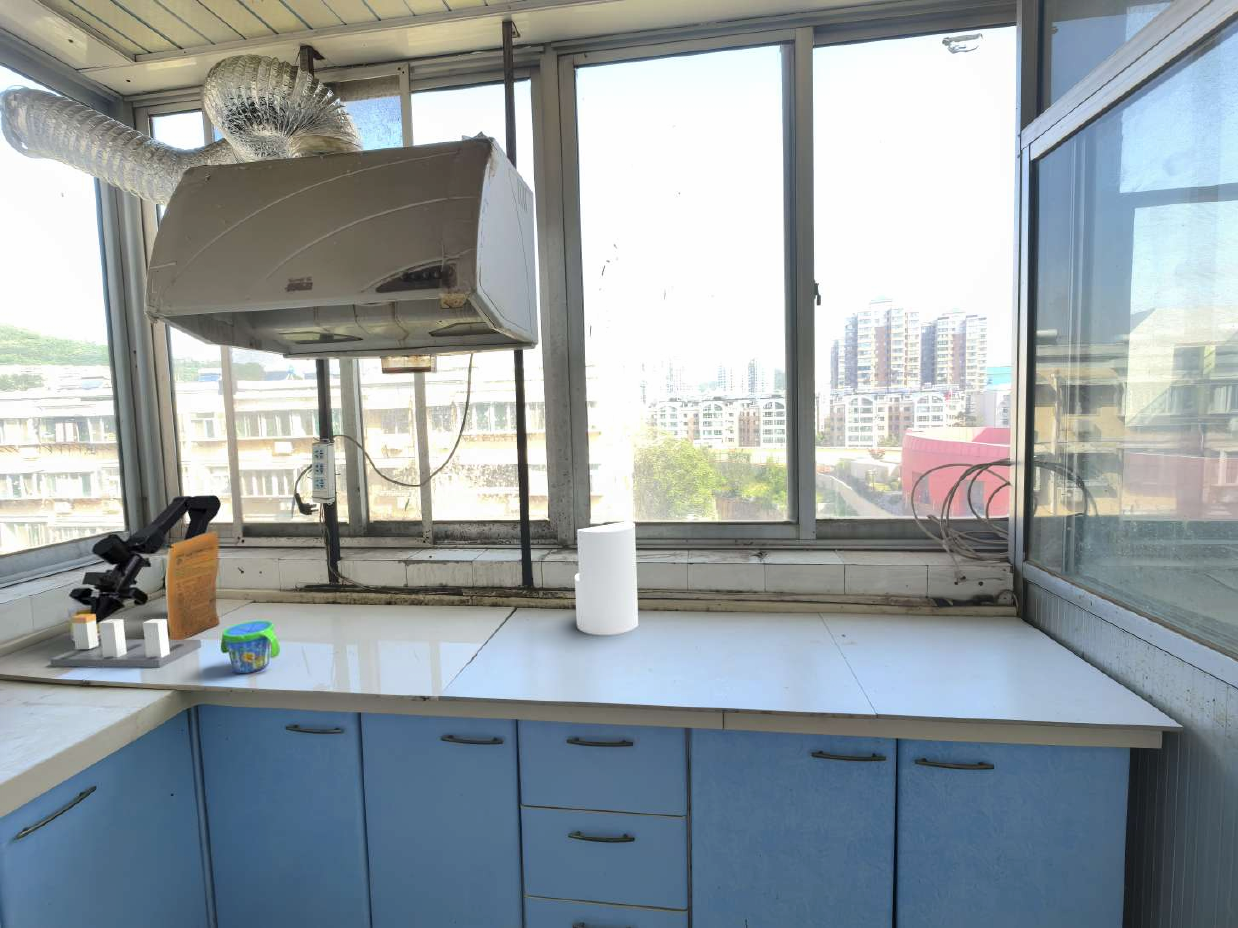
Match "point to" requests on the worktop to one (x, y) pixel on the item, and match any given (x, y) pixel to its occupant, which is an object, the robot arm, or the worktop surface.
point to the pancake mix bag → (192, 585)
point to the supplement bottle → (77, 610)
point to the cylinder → (607, 579)
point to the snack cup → (250, 645)
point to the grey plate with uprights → (129, 647)
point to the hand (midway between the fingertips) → (90, 625)
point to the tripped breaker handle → (85, 631)
